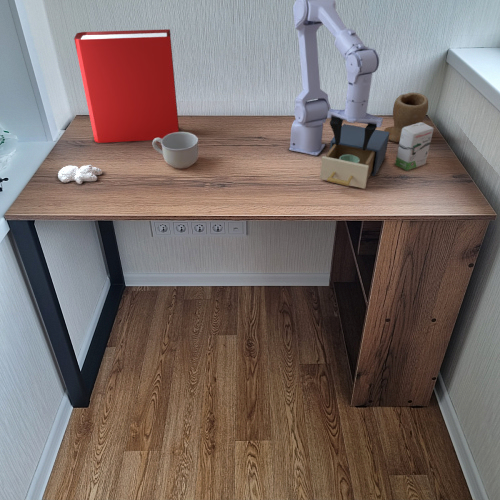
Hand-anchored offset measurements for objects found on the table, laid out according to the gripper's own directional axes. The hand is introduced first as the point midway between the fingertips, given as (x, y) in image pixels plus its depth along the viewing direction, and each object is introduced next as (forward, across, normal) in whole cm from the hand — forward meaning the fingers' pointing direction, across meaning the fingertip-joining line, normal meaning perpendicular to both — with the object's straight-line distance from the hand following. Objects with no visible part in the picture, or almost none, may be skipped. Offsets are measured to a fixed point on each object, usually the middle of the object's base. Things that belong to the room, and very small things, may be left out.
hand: (350, 146), depth 140 cm
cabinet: (+10, 0, +11) cm, 15 cm away
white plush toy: (+10, -70, -32) cm, 78 cm away
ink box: (+10, +15, +16) cm, 24 cm away
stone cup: (+10, +11, +33) cm, 36 cm away
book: (+10, -71, -2) cm, 72 cm away
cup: (+8, 0, 0) cm, 8 cm away
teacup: (+10, -49, -13) cm, 52 cm away
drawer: (+9, 0, -2) cm, 9 cm away
